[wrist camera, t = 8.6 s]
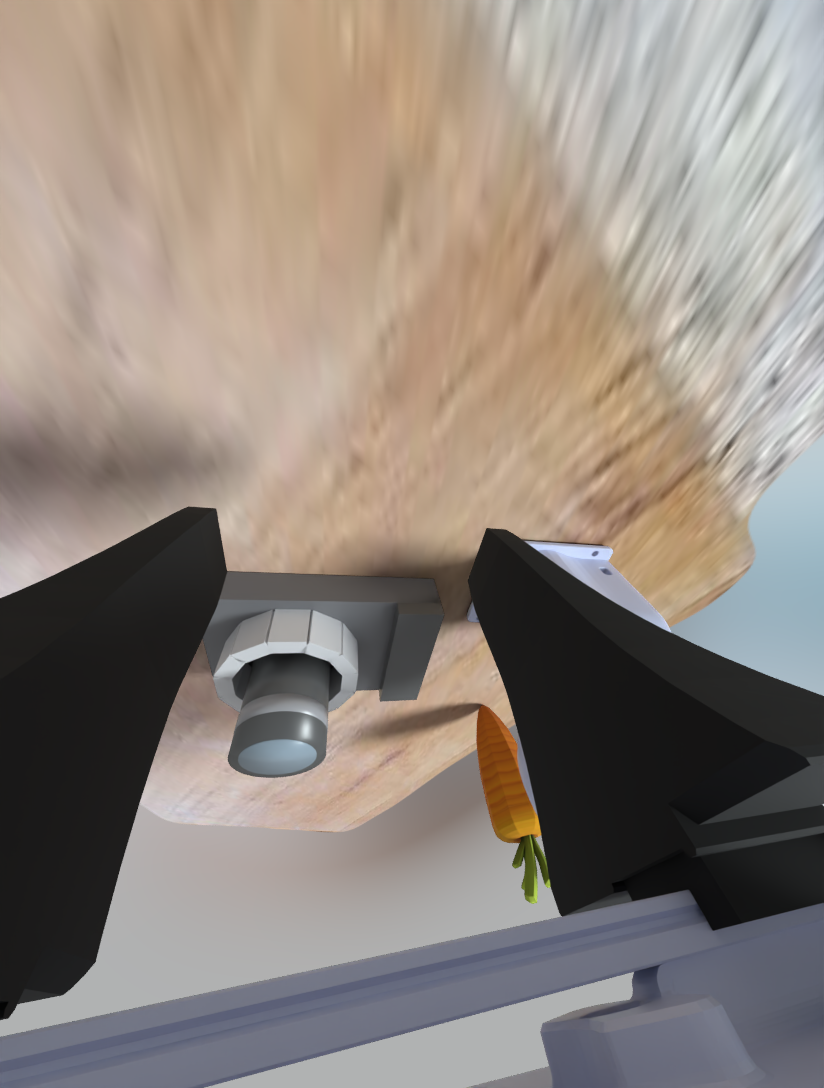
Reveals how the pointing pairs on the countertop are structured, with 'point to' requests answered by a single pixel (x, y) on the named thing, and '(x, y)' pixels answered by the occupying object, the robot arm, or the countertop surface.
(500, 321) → the countertop surface
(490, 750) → the carrot
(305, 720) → the lens
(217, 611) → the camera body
